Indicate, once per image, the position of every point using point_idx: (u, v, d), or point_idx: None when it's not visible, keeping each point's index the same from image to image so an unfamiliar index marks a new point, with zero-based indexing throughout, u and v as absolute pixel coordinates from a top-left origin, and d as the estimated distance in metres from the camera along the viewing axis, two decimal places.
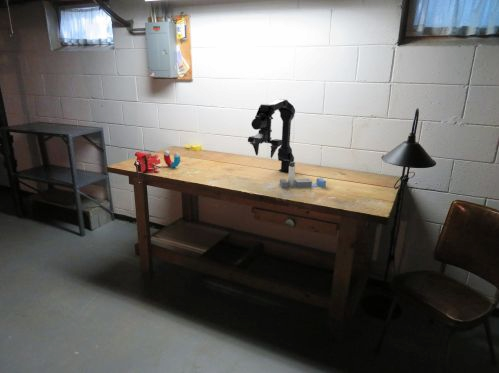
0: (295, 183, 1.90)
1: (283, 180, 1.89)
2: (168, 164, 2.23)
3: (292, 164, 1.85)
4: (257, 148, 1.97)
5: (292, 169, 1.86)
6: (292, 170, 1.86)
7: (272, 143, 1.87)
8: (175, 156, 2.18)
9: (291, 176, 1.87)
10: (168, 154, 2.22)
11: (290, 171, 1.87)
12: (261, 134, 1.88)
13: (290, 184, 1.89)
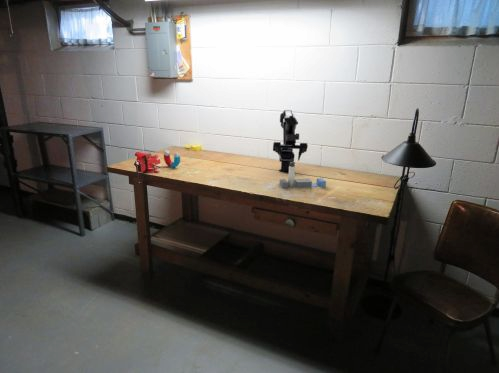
0: (295, 183, 1.90)
1: (283, 180, 1.89)
2: (168, 164, 2.23)
3: (292, 164, 1.85)
4: None
5: (292, 169, 1.86)
6: (292, 170, 1.86)
7: (302, 144, 1.95)
8: (175, 156, 2.18)
9: (291, 176, 1.87)
10: (168, 154, 2.22)
11: (290, 171, 1.87)
12: None
13: (290, 184, 1.89)
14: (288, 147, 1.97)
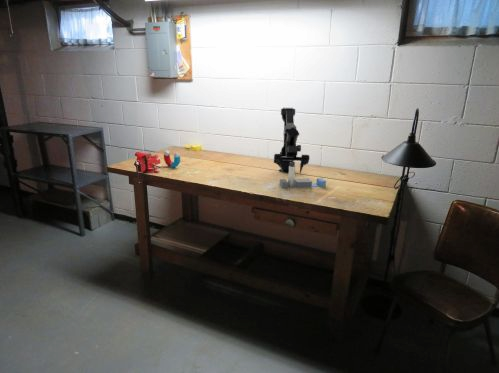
0: (295, 183, 1.90)
1: (283, 180, 1.89)
2: (168, 164, 2.23)
3: (292, 164, 1.85)
4: (282, 166, 1.90)
5: (292, 169, 1.86)
6: (292, 170, 1.86)
7: (304, 156, 1.89)
8: (175, 156, 2.18)
9: (291, 176, 1.87)
10: (168, 154, 2.22)
11: (290, 171, 1.87)
12: None
13: (290, 184, 1.89)
14: (289, 159, 1.91)
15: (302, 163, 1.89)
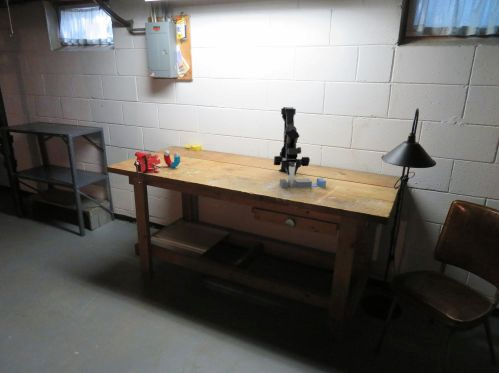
0: (295, 183, 1.90)
1: (283, 180, 1.89)
2: (168, 164, 2.23)
3: (292, 164, 1.85)
4: None
5: (292, 169, 1.86)
6: (292, 170, 1.86)
7: (304, 158, 1.88)
8: (175, 156, 2.18)
9: (291, 176, 1.87)
10: (168, 154, 2.22)
11: (290, 171, 1.87)
12: None
13: (290, 184, 1.89)
14: (289, 161, 1.90)
15: (297, 165, 1.88)
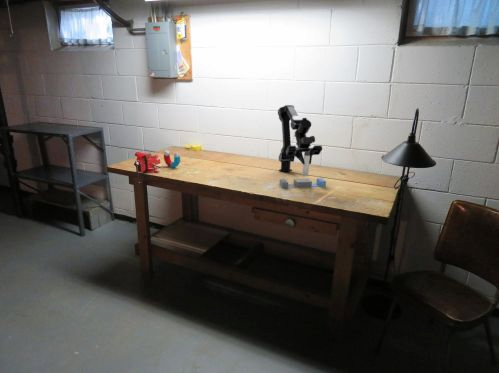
0: (295, 183, 1.90)
1: (283, 180, 1.89)
2: (168, 164, 2.23)
3: (307, 153, 1.84)
4: None
5: (307, 158, 1.85)
6: (307, 159, 1.85)
7: (317, 147, 1.88)
8: (175, 156, 2.18)
9: (306, 165, 1.86)
10: (168, 154, 2.22)
11: (305, 160, 1.85)
12: None
13: (305, 173, 1.87)
14: (302, 150, 1.89)
15: (311, 154, 1.87)
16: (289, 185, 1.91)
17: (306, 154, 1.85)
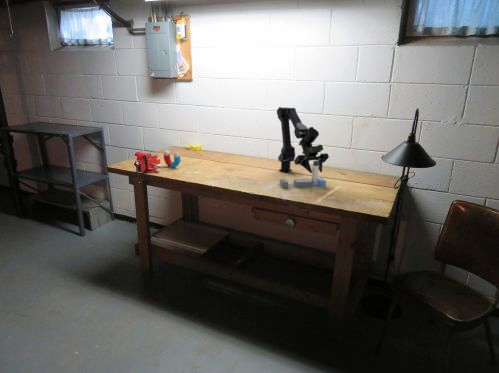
0: (295, 183, 1.90)
1: (283, 180, 1.89)
2: (168, 164, 2.23)
3: (317, 163, 1.88)
4: None
5: (317, 168, 1.88)
6: (317, 169, 1.89)
7: (324, 155, 1.92)
8: (175, 156, 2.18)
9: (316, 175, 1.90)
10: (168, 154, 2.22)
11: (314, 170, 1.89)
12: None
13: (314, 183, 1.91)
14: (310, 159, 1.92)
15: (321, 162, 1.91)
16: (289, 185, 1.91)
17: (315, 164, 1.88)
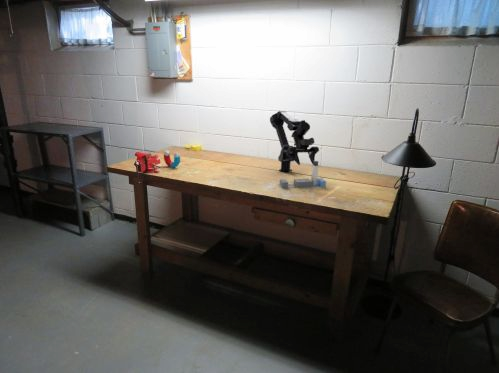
0: (295, 183, 1.90)
1: (283, 180, 1.89)
2: (168, 164, 2.23)
3: (317, 163, 1.88)
4: None
5: (317, 168, 1.88)
6: (317, 169, 1.88)
7: (314, 148, 2.00)
8: (175, 156, 2.18)
9: (316, 175, 1.89)
10: (168, 154, 2.22)
11: (314, 170, 1.89)
12: None
13: (314, 183, 1.91)
14: (301, 151, 1.99)
15: (314, 155, 2.00)
16: (289, 185, 1.91)
17: (315, 164, 1.88)
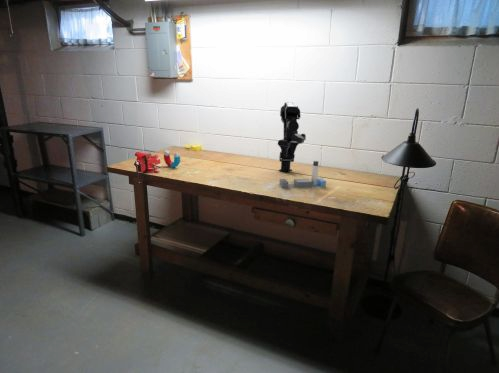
0: (295, 183, 1.90)
1: (283, 180, 1.89)
2: (168, 164, 2.23)
3: (317, 163, 1.88)
4: None
5: (317, 168, 1.88)
6: (317, 169, 1.88)
7: None
8: (175, 156, 2.18)
9: (316, 175, 1.89)
10: (168, 154, 2.22)
11: (314, 170, 1.89)
12: (298, 134, 1.99)
13: (314, 183, 1.91)
14: None
15: (296, 146, 2.07)
16: (289, 185, 1.91)
17: (315, 164, 1.88)
